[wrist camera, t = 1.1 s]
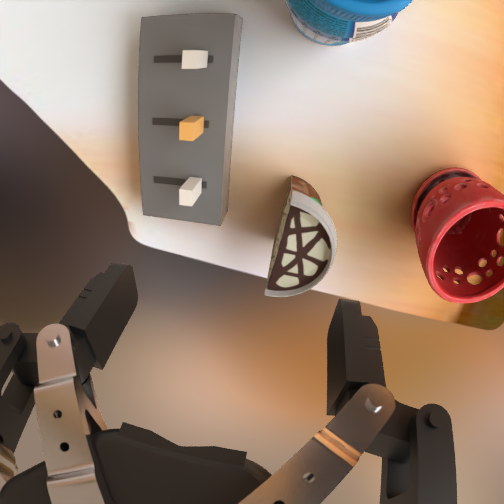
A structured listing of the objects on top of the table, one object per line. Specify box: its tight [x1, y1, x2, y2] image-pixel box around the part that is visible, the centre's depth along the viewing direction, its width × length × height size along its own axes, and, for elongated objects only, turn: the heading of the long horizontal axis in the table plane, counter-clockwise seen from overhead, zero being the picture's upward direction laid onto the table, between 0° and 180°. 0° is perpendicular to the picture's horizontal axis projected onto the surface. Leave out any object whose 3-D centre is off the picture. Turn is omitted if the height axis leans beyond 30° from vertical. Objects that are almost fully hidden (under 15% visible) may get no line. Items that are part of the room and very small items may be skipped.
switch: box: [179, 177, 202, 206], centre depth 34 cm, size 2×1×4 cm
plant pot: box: [411, 168, 504, 303], centre depth 31 cm, size 13×13×12 cm
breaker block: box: [138, 14, 242, 226], centre depth 33 cm, size 24×10×4 cm, turn 175°
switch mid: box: [179, 115, 204, 141], centre depth 30 cm, size 2×1×4 cm
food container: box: [265, 176, 337, 297], centre depth 36 cm, size 12×6×10 cm, turn 169°
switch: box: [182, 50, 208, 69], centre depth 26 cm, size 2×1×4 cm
